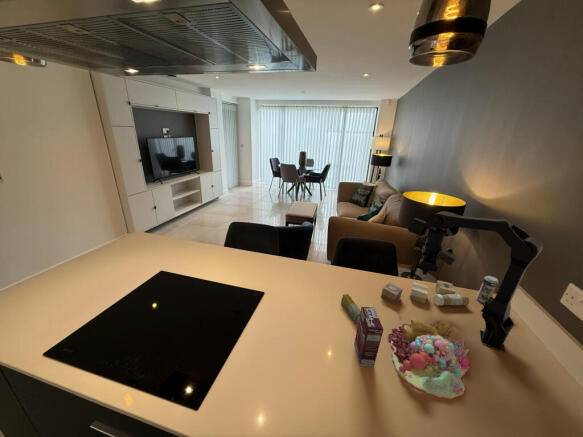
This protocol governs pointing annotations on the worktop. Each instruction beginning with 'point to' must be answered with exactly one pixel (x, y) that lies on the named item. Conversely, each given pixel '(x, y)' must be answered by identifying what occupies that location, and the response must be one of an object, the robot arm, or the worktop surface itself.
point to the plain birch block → (419, 292)
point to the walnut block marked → (391, 293)
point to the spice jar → (487, 288)
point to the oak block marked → (444, 288)
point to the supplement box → (368, 336)
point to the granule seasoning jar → (450, 299)
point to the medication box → (351, 307)
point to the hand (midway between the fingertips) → (424, 274)
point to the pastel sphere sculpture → (429, 358)
